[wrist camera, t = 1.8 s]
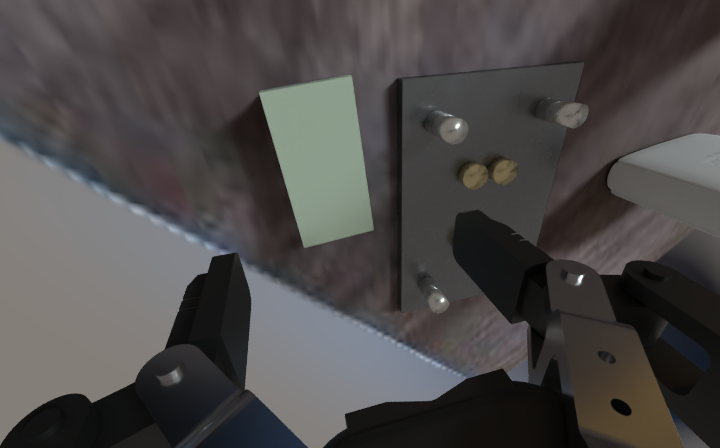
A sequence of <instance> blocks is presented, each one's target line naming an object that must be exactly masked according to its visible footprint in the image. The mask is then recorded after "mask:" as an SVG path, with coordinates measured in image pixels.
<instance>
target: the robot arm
mask: <svg viewBox="0 0 720 448" xmlns="http://www.w3.org/2000/svg"><path fill="white" fill-rule="evenodd" d="M452 250H453V255H454V258H455V260H456V262H457V263H458V264H459V266H460V267H461V268H462V269H463V270H464V271H465V272H466V274H467V275H468V276H469V277H470V278H471V279H472V280H473V281H474V283H475V284H476V285H477V286H478V287H479V288H480V289H481V291H482V292H483V293H484V294H485V295H486V296H487V297H488V298H489V300H490V301H491V302H492V303H493V304H494V305H495V306H496V308H497V309H498V310H499V311H500V312H501V313H502V314H503V316H504V317H505V318H506V319H507V320H508V321H509V322H510V323H511V324H514V323H518V322H522V321H527V322H528V324H529V326H528V329H527V347H528V373H529V381H528V383H527V382H519V381H512V380H511V379H510V378H509V376H508V375H507V374H506V372H505V371H504V369H499V370H496V371H492V372H489V373H485V374H482V375H478V376H475V377H471V378H468V379H466V380H464V381H463V382H461V383H460V384H458V385H457V386H455V387H454V388H452V389H451V390H449V391H448V392H446V393H445V394H443V395H441V396H440V397H438V398H437V399H435V400H432V401H415V402H385V403H382V404H378V405H375V406H371V407H368V408H365V409H361V410H357V411H354V412H350V413H347V414H345V419H346V425H347V428H346V429H345V430H343V431H342V432H340V433H339V434H337V435H336V436H335V437H334V438H333V439H331V440H330V441H329V442H328V443H327V444H326V445H325V446H324V447H323V448H684V447H683V444H682V442H681V439H680V437H679V434H678V432H677V430H676V427H675V424H674V422H673V420H672V417H671V415H670V413H669V410H668V408H669V409H670V410H671V411H672V412H673V413H674V414H675V415H676V416H677V417H678V418H679V419H680V420H682V421H683V422H684V423H685V424H686V425H687V426H688V427H689V428H690V429H691V430H692V431H693V432H694V433H695V434H696V435H697V436H698V437H699V438H700V439H701V440H702V441H703V442H705V443H706V444H707V445H708V446H709V447H710V448H720V296H719V295H718V294H716V293H714V292H712V291H710V290H709V289H707V288H705V287H704V286H702V285H700V284H698V283H696V282H695V281H693V280H691V279H690V278H688V277H686V276H685V275H683V274H681V273H679V272H677V271H676V270H674V269H672V268H670V267H667V266H664V265H662V264H658V263H655V262H650V261H642V260H637V261H631V262H629V263H627V264H626V266H625V268H624V270H623V273H622V275H599V274H598V273H597V272H596V271H595V270H593V269H592V268H590V267H589V266H587V265H584V264H582V263H579V262H576V261H571V260H562V259H560V260H553V259H552V258H551V257H549V256H548V255H547V254H545V253H544V252H543V251H541V250H540V249H539V248H537V247H536V246H534V245H533V244H532V243H530V242H529V241H528V240H525V238H524V237H522V236H521V235H519V234H517V232H515V231H514V230H513V229H511V228H510V227H509V226H507V225H505V224H503V223H500V222H498V221H495V220H492V219H491V218H489V217H488V216H487V215H485V214H484V213H483V212H481V211H480V210H472V211H466V212H461V213H458V214H457V216H456V219H455V228H454V237H453V247H452ZM250 313H251V296H250V290H249V287H248V283H247V280H246V277H245V274H244V270H243V267H242V264H241V261H240V258H239V255H238V254H237V253H231V254H225V255H220V256H214V257H212V260H211V263H210V267H209V270H208V273H205V274H200V275H197V277H195V279H194V280H193V281H192V282H191V283H190V284H189V285H188V286H187V288H186V291H185V294H184V297H183V301H182V303H181V305H180V308H179V312H178V314H177V316H176V319H175V322H174V325H173V328H172V330H171V333H170V336H169V339H168V341H167V344H166V347H165V350H163V351H162V352H160V353H158V354H157V355H155V356H154V357H153V358H151V359H150V360H149V361H148V362H147V363H146V364H145V365H144V366H143V368H142V369H141V370H140V372H139V373H138V375H137V378H136V380H135V382H134V383H133V384H130V385H129V386H127V387H125V388H123V389H121V390H119V391H116V392H114V393H112V394H110V395H108V396H106V397H104V398H102V399H100V400H98V401H96V402H93V403H91V402H90V400H89V399H88V398H87V397H86V396H84V395H82V394H68V395H64V396H60V397H58V398H55V399H53V400H51V401H49V402H47V403H45V404H43V405H41V406H40V407H38V408H37V409H35V410H34V411H32V412H31V413H30V414H28V415H27V416H26V417H24V419H22V420H21V421H20V422H19V423H18V424H17V425H16V426H15V427H14V428H13V429H12V430H11V431H10V432H9V433H8V435H7V436H6V438H5V439H4V440H3V442H2V444H1V445H0V448H308V447H307V446H306V445H305V444H304V443H303V442H302V441H301V440H300V439H299V438H298V437H297V436H296V435H295V434H294V433H293V432H292V431H291V430H290V429H288V427H287V426H286V425H285V424H284V423H283V422H282V421H281V420H280V419H279V418H278V417H277V416H276V415H275V414H274V413H273V412H272V411H270V409H268V407H266V406H265V405H264V404H263V403H262V402H261V401H260V400H259V399H258V398H257V397H256V396H255V395H254V394H253V393H252V392H250V391H249V390H245V378H246V377H245V376H246V365H247V352H248V340H249V327H250ZM668 322H669V323H670V324H672V325H673V326H674V327H676V328H677V329H678V330H680V331H681V332H683V333H684V334H685V335H687V336H688V337H690V338H691V339H692V340H694V341H695V342H696V343H698V344H699V345H700V346H702V347H703V348H704V349H705V351H706V352H707V353H708V355H709V358H710V361H711V362H710V366H709V368H708V369H707V370H706V372H703V371H702V370H701V369H699V368H698V367H697V366H696V365H695V364H693V363H692V362H691V361H689V360H688V359H687V358H686V357H684V356H683V355H682V354H680V353H679V352H678V351H677V350H675V349H674V348H673V347H672V346H670V345H669V344H668V343H667V342H665V341H664V340H663V339H661V338H660V337H659V336H660V335H661V332H662V331H663V330H664V328H665V326H666V325H667V323H668ZM244 390H245V391H244Z"/></svg>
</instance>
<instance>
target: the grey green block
mask: <svg viewBox="0 0 720 448" xmlns="http://www.w3.org/2000/svg"><path fill="white" fill-rule="evenodd" d="M259 94H260V98H261V101H262V105H263V108H264V112H265V115H266V119H267V122H268V125H269V129H270V132H271V136H272V139H273V143H274V146H275V149H276V153H277V156H278V160H279V163H280V167H281V170H282V174H283V177H284V180H285V184H286V187H287V191H288V194H289V198H290V201H291V205H292V208H293V211H294V215H295V218H296V222H297V225H298V229H299V232H300V236H301V239H302V242H303V246H304V248H306V247H310V246H314V245H318V244H322V243H326V242H330V241H334V240H338V239H342V238H345V237H349V236H353V235H357V234H361V233H365V232H369V231H373V230H374V228H373V221H372V214H371V207H370V200H369V193H368V186H367V179H366V172H365V165H364V158H363V151H362V145H361V138H360V131H359V124H358V117H357V110H356V103H355V96H354V89H353V82H352V76H351V75H343V76H333V77H328V78H323V79H317V80H312V81H306V82H301V83H295V84H290V85H285V86H279V87H274V88H268V89H264V90H262V91H260V92H259Z"/></svg>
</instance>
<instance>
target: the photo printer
mask: <svg viewBox="0 0 720 448" xmlns="http://www.w3.org/2000/svg"><path fill="white" fill-rule="evenodd" d="M607 185H608V187H609V188H610V189H611V193H612V194H614V195H616V196H618V197H621V198H623V199H625V200H628V201H630V202H633V203H635V204H638V205H640V206H643V207H645V208H648V209H650V210H652V211H655V212H657V213H660V214H662V215H664V216H667V217H669V218H672V219H674V220H677V221H679V222H681V223H684V224H686V225H689V226H691V227H693V228H696V229H698V230H701V231H703V232H706V233H708V234H710V235H713V236H715V237H717V238H720V136H717V135H712V134H690V135H686V136H683V137H679V138H676V139H673V140H669V141H666V142H663V143H660V144H657V145H654V146H651V147H648V148H645V149H642V150H639V151H637V152H634V153H631V154H629V155H626V156H624V157H622V158H620V159H619V160H618V162H617V163H615V164H614V165H613V166H612V168H611V170H610V172H609V174H608V178H607Z"/></svg>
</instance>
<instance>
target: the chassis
mask: <svg viewBox="0 0 720 448" xmlns="http://www.w3.org/2000/svg"><path fill="white" fill-rule="evenodd" d="M584 64H585V62H567V63H556V64H546V65H535V66H524V67H514V68H503V69H492V70H481V71H471V72H460V73H449V74H439V75H428V76H417V77H406V78H397V118H398V307H399V309H400V311H401V313H404V312H408V311H412V310H417V309H421V308H425V307H431V309H432V311H433V312H434V313H442V312H444V311H445V310H446V309H447V308H448V307H449V302H451V301H456V300H460V299H464V298H469V297H473V296H477V295H482V294H484V293H483V292H482V291H481V289H480V288H479V287H478V286H477V285H476V284H475V283H474V281H473V280H472V279H471V278H470V277H469V276H468V275H467V274H466V272H465V271H464V270H463V269H462V268H461V267H460V266H459V264H458V263H457V262H456V260H455V258H454V255H453V250H452V247H453V237H454V228H455V219H456V216H457V214H458V213H461V212H466V211H472V210H480V211H481V212H483V213H484V214H485V215H487V216H488V217H489V218H491V219H492V220H495V221H498V222H500V223H503V224H505V225H507V226H509V227H510V228H511V229H513V230H514V231H515V232H517V234H519V235H521V236H522V237H524V238H525V240H528V241H529V242H530V243H532V244H533V245H534V246H536V245H537V241H538V237H539V234H540V230H541V226H542V222H543V219H544V215H545V211H546V207H547V203H548V200H549V196H550V192H551V188H552V185H553V181H554V177H555V173H556V169H557V166H558V162H559V158H560V154H561V150H562V147H563V143H564V139H565V135H566V132H567V128H568V127H570V128H577V127H579V126H581V125H582V124H583V123H584V122H585V120H586V118H587V116H588V112H589V110H588V106H587V105H585V104H582V103H576V102H574V101H575V98H576V94H577V90H578V86H579V82H580V79H581V75H582V71H583V67H584Z"/></svg>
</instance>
